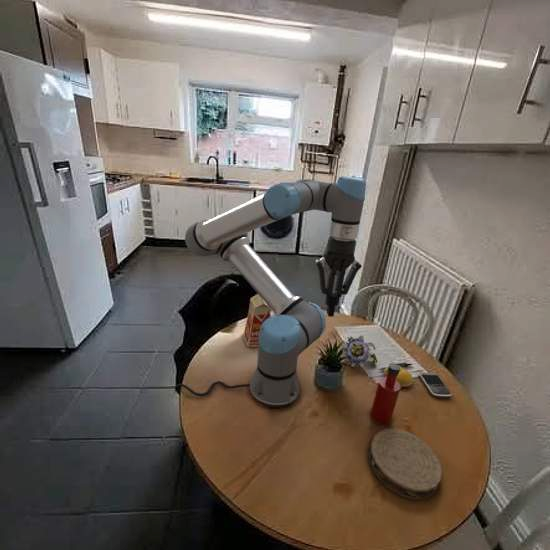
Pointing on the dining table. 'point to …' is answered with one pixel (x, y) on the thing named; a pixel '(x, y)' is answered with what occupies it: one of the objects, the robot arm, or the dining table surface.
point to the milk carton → (255, 320)
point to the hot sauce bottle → (386, 396)
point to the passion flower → (359, 351)
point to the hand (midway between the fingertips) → (329, 314)
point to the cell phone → (435, 385)
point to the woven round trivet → (405, 463)
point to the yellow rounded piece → (402, 377)
